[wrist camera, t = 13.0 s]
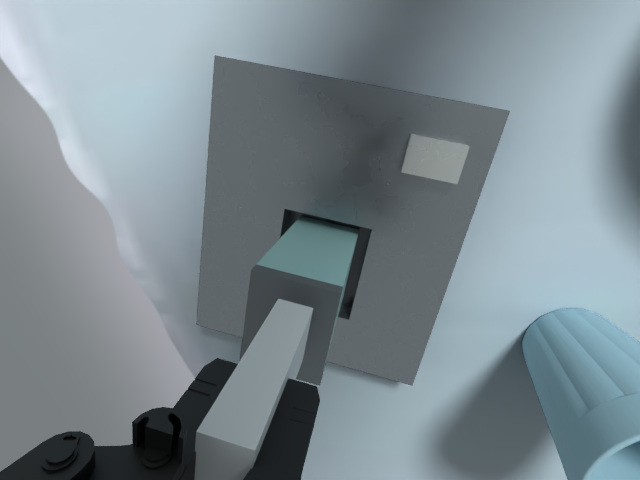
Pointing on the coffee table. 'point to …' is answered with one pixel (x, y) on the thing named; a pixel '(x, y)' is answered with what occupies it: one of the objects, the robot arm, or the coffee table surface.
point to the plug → (303, 285)
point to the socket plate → (343, 199)
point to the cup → (588, 392)
